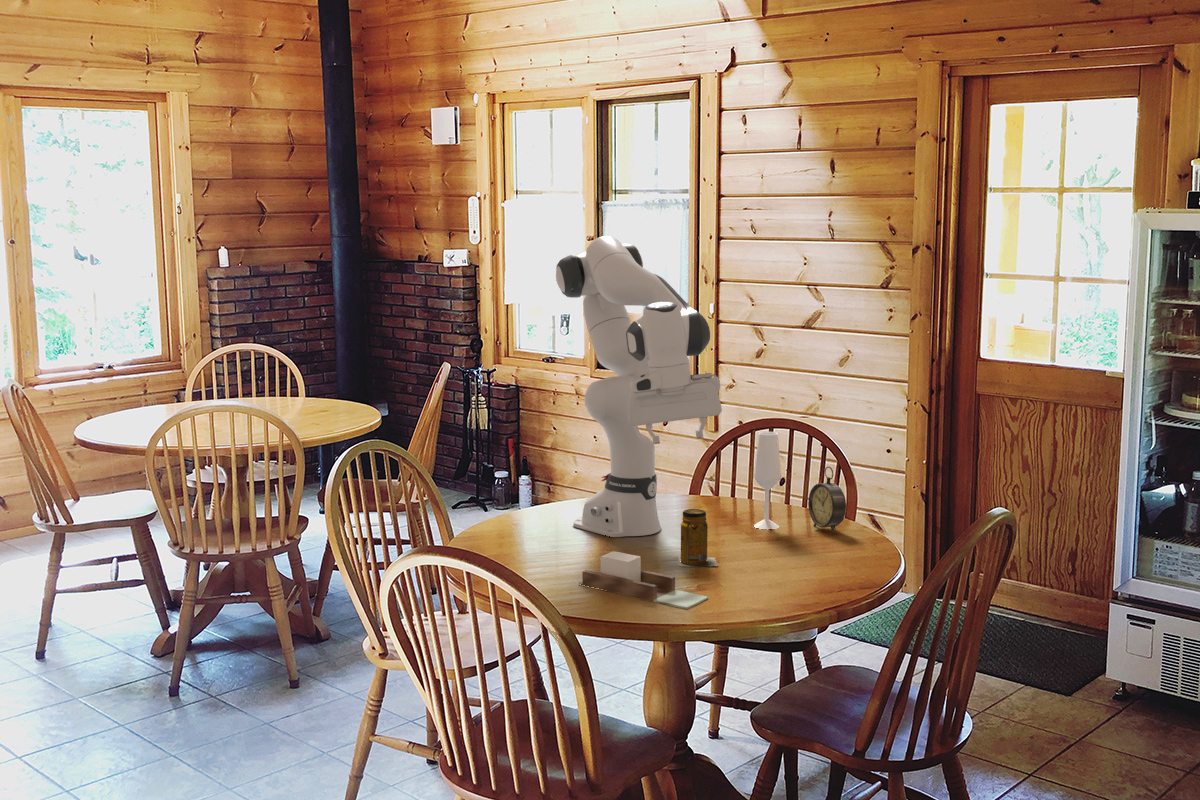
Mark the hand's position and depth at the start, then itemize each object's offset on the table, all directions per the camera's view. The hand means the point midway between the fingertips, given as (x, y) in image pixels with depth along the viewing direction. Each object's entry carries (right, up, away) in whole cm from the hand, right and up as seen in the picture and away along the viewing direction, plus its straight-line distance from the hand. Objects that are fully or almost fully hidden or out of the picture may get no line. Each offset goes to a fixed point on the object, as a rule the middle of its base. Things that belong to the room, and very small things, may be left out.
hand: (678, 440), depth 254 cm
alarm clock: (+40, -24, +40) cm, 62 cm away
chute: (-8, -31, -9) cm, 33 cm away
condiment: (+5, -28, +13) cm, 31 cm away
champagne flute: (+25, -23, +43) cm, 55 cm away
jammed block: (-13, -30, -5) cm, 33 cm away
